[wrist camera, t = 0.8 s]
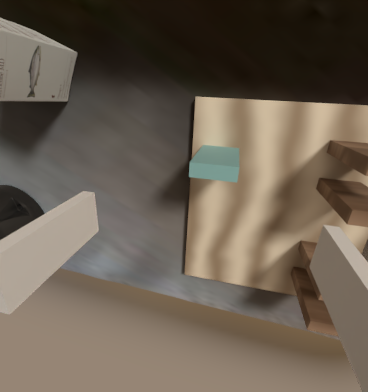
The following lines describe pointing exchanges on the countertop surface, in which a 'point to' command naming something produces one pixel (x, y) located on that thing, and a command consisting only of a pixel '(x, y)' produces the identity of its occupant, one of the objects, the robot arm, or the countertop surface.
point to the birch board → (268, 188)
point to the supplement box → (33, 65)
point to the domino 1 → (215, 163)
